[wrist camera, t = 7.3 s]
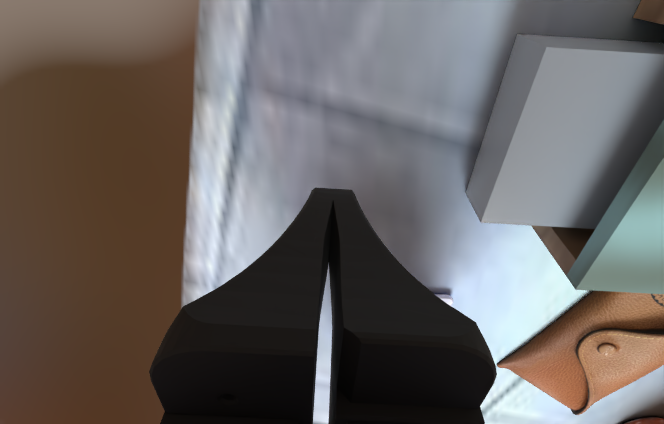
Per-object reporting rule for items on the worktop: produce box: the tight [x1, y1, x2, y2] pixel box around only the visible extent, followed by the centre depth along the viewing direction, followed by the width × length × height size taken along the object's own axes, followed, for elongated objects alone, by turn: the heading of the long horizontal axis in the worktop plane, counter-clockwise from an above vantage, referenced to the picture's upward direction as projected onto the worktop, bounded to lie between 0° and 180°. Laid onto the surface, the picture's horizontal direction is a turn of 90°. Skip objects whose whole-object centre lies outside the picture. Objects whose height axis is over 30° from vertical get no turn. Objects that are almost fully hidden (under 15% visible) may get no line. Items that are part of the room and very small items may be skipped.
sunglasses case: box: [497, 290, 664, 415], centre depth 28 cm, size 18×7×7 cm
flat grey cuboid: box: [466, 34, 664, 229], centre depth 18 cm, size 9×14×3 cm, turn 87°
